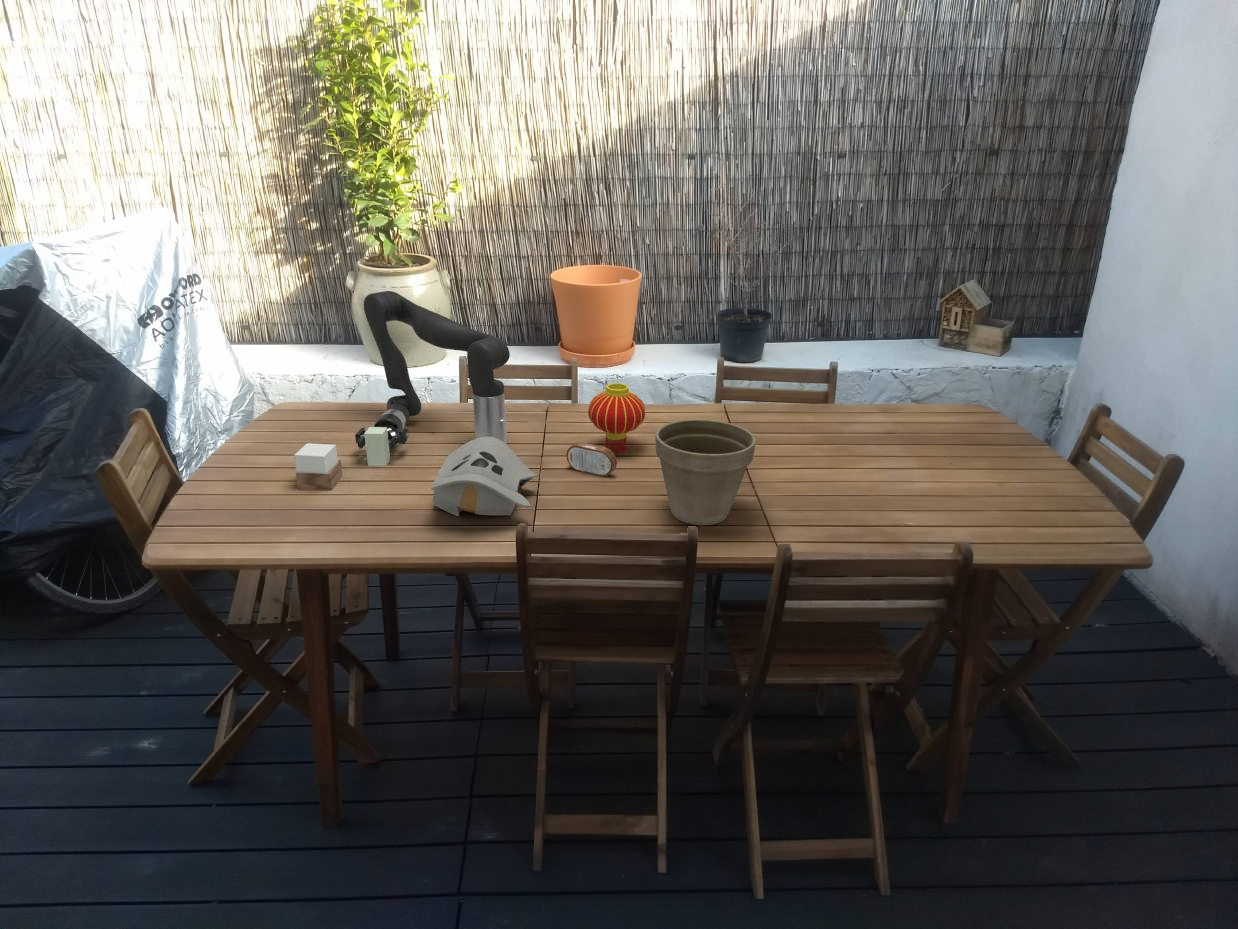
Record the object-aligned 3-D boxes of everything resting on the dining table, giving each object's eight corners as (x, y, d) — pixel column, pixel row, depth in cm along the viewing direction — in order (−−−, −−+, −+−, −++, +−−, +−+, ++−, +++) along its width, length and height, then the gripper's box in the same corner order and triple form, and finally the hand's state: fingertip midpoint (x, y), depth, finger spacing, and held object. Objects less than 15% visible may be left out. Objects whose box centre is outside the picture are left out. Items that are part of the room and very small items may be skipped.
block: (390, 459, 232) (387, 427, 228) (385, 466, 228) (382, 434, 224) (372, 459, 232) (369, 427, 228) (368, 466, 228) (364, 433, 224)
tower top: (338, 461, 218) (335, 444, 216) (326, 473, 211) (323, 456, 209) (309, 460, 219) (307, 443, 217) (296, 472, 212) (294, 455, 210)
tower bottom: (342, 476, 221) (340, 460, 219) (332, 491, 213) (329, 474, 211) (310, 476, 221) (307, 459, 219) (298, 490, 213) (295, 473, 211)
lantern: (578, 454, 239) (579, 357, 226) (601, 435, 253) (602, 343, 241) (631, 465, 233) (635, 366, 221) (651, 444, 248) (656, 350, 235)
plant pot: (694, 483, 223) (700, 410, 214) (767, 514, 207) (776, 436, 198) (631, 510, 207) (634, 433, 198) (705, 546, 191) (711, 464, 182)
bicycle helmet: (443, 475, 219) (452, 424, 213) (534, 495, 222) (545, 445, 215) (419, 523, 194) (428, 467, 188) (522, 546, 196) (534, 490, 190)
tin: (617, 475, 226) (617, 448, 223) (612, 480, 224) (612, 452, 220) (570, 465, 232) (570, 438, 228) (564, 469, 229) (564, 442, 226)
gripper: (365, 412, 239) (348, 433, 224) (413, 413, 239) (399, 434, 224) (368, 435, 242) (351, 457, 227) (415, 437, 242) (401, 458, 227)
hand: (375, 445), depth 226 cm, fingers open, 8 cm apart
